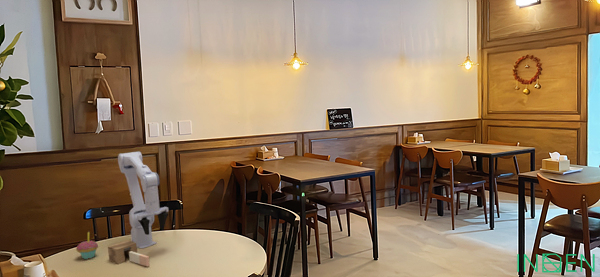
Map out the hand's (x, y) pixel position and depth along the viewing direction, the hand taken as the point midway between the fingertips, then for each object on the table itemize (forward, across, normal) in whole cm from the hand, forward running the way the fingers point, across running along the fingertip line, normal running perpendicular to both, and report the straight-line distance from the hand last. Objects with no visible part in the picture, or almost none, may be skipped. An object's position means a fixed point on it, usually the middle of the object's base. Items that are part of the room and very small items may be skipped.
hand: (154, 231), depth 193 cm
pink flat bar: (+9, -11, -4) cm, 15 cm away
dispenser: (+10, -11, +8) cm, 17 cm away
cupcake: (+10, -18, +24) cm, 32 cm away
